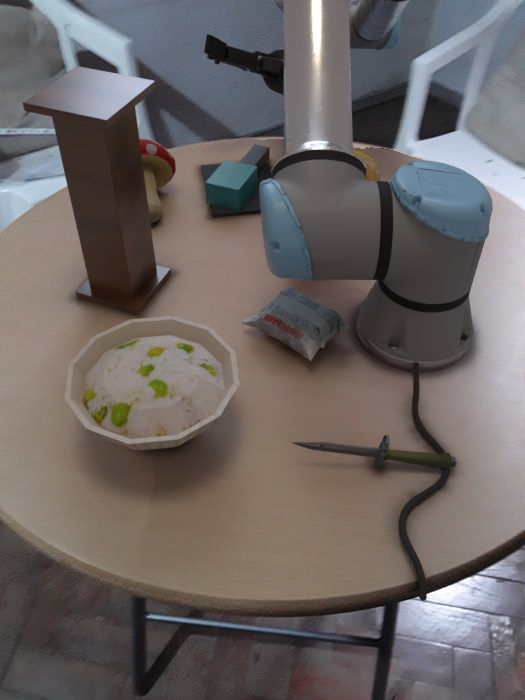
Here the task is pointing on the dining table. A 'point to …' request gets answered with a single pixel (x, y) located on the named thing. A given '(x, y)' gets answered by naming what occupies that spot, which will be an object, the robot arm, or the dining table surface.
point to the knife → (386, 453)
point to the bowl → (152, 382)
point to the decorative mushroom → (156, 173)
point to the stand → (105, 182)
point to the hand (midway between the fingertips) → (247, 50)
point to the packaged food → (298, 322)
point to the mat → (250, 205)
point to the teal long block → (236, 179)
